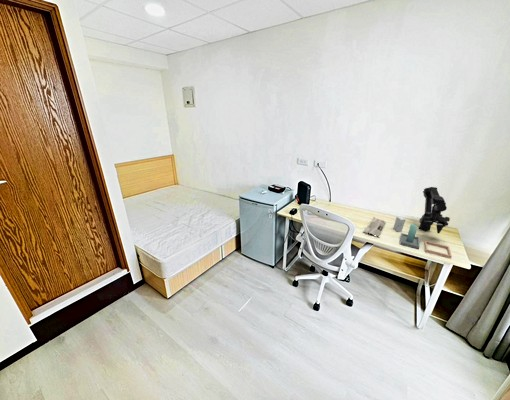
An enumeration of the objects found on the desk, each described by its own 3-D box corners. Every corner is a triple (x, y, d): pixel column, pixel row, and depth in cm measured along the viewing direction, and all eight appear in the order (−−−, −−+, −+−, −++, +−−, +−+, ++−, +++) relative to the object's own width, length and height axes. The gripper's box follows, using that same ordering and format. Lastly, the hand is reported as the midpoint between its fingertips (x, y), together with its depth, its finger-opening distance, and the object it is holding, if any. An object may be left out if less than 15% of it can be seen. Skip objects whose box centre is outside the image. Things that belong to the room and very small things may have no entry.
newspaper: (378, 238, 178) (379, 234, 177) (362, 233, 185) (363, 230, 184) (385, 223, 204) (386, 219, 202) (371, 219, 211) (372, 216, 210)
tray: (400, 235, 181) (401, 233, 180) (418, 240, 175) (418, 237, 174) (399, 244, 169) (400, 241, 168) (418, 249, 162) (419, 246, 162)
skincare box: (392, 228, 193) (396, 216, 188) (397, 228, 193) (401, 216, 188) (397, 232, 187) (400, 219, 183) (402, 232, 187) (405, 219, 183)
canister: (404, 239, 173) (409, 224, 168) (409, 239, 174) (414, 223, 169) (409, 242, 169) (414, 227, 164) (414, 242, 170) (419, 226, 165)
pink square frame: (424, 242, 171) (425, 240, 170) (448, 248, 163) (448, 246, 162) (425, 251, 160) (426, 249, 159) (450, 258, 152) (451, 256, 151)
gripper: (436, 210, 161) (434, 230, 159) (456, 215, 164) (454, 235, 162) (422, 210, 172) (420, 229, 170) (441, 215, 175) (439, 234, 173)
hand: (433, 232), depth 169 cm, fingers open, 9 cm apart
